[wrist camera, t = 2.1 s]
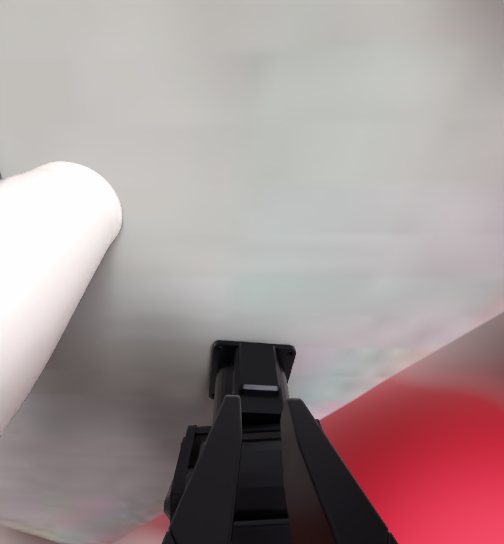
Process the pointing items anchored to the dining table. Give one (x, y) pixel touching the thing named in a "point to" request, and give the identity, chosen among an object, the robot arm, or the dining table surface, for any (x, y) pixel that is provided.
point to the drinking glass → (46, 265)
